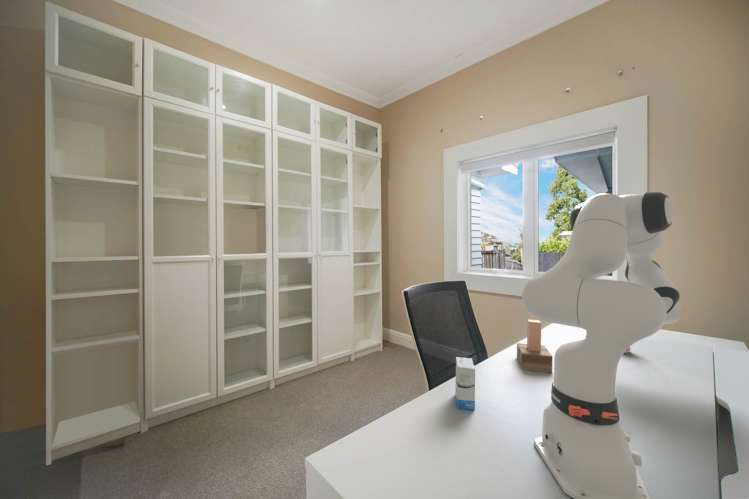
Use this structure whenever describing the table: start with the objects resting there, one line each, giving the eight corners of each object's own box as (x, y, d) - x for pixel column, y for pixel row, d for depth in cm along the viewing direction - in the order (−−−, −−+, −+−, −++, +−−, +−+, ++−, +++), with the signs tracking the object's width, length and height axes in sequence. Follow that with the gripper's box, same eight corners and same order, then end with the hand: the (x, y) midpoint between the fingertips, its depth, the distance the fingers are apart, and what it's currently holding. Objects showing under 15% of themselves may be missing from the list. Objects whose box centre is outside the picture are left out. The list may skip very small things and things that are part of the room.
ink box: (475, 410, 84) (475, 368, 84) (456, 408, 85) (457, 367, 85) (471, 395, 92) (472, 357, 92) (455, 394, 93) (455, 356, 93)
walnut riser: (552, 372, 109) (552, 356, 109) (521, 369, 112) (522, 353, 112) (544, 360, 121) (544, 345, 121) (516, 357, 124) (517, 343, 124)
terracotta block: (540, 351, 114) (541, 322, 114) (528, 350, 115) (529, 321, 115) (538, 348, 118) (538, 320, 117) (527, 347, 119) (527, 319, 119)
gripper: (606, 295, 117) (565, 293, 121) (633, 304, 97) (584, 301, 101) (605, 311, 117) (564, 308, 121) (633, 323, 97) (583, 319, 101)
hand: (573, 305), depth 111 cm, fingers open, 8 cm apart
